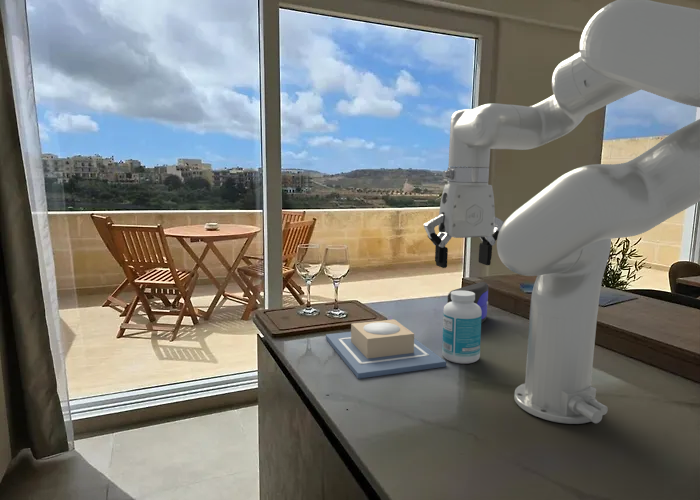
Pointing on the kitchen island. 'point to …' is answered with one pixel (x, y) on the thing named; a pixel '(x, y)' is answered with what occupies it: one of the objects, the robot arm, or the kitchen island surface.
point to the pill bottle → (461, 328)
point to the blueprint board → (384, 365)
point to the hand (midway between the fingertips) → (463, 265)
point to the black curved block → (477, 296)
